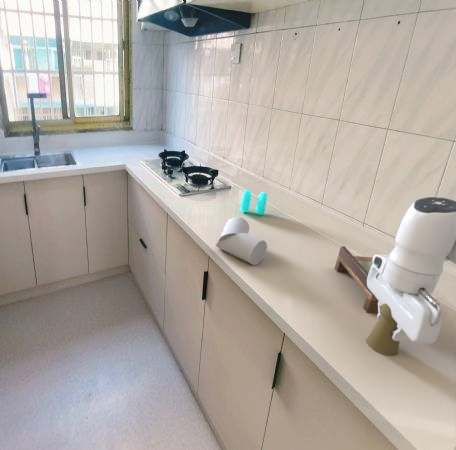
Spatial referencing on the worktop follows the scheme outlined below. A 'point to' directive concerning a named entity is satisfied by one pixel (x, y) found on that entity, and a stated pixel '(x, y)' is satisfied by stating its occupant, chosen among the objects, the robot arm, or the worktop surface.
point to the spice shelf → (358, 274)
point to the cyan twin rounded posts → (247, 199)
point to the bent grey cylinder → (242, 241)
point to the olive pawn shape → (384, 334)
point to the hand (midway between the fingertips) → (388, 329)
